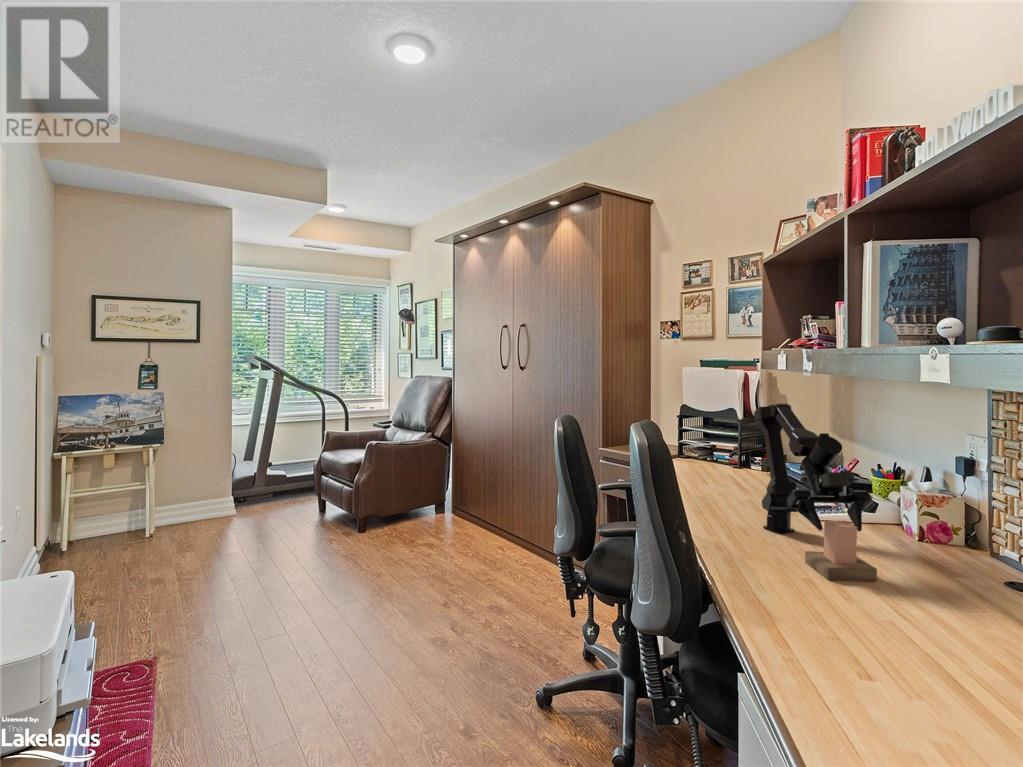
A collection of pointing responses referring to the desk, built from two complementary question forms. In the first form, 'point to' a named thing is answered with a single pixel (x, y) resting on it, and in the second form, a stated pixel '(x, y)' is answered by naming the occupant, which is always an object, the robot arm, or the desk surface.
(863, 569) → the walnut plinth
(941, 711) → the desk surface
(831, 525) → the terracotta block
